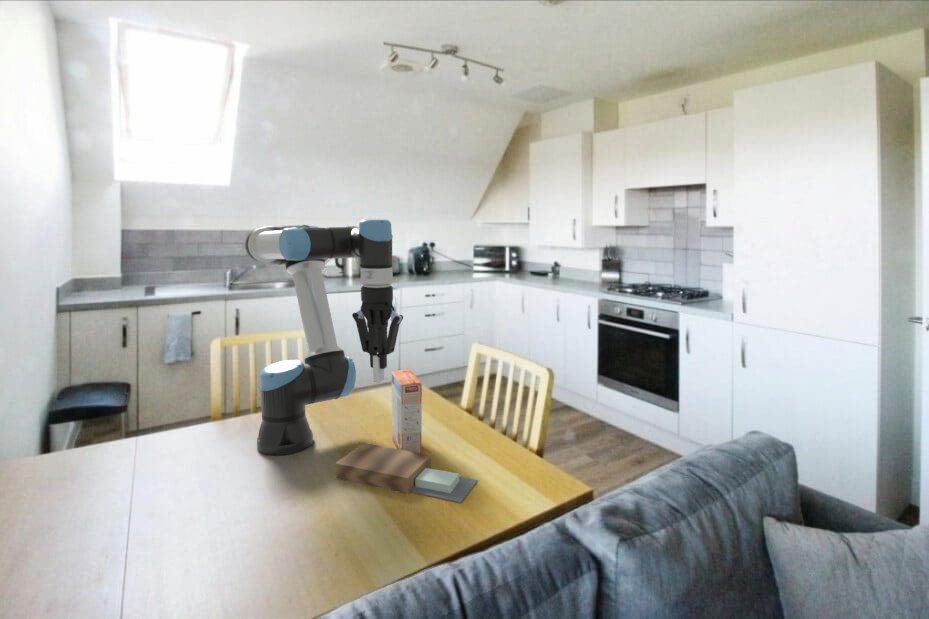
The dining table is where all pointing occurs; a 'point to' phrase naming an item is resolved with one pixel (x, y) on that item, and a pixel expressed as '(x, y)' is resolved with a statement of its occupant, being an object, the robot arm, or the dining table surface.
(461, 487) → the mat
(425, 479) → the pale green eraser
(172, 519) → the dining table surface
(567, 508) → the dining table surface
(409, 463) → the wooden block
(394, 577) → the dining table surface
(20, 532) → the dining table surface
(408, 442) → the cracker box
